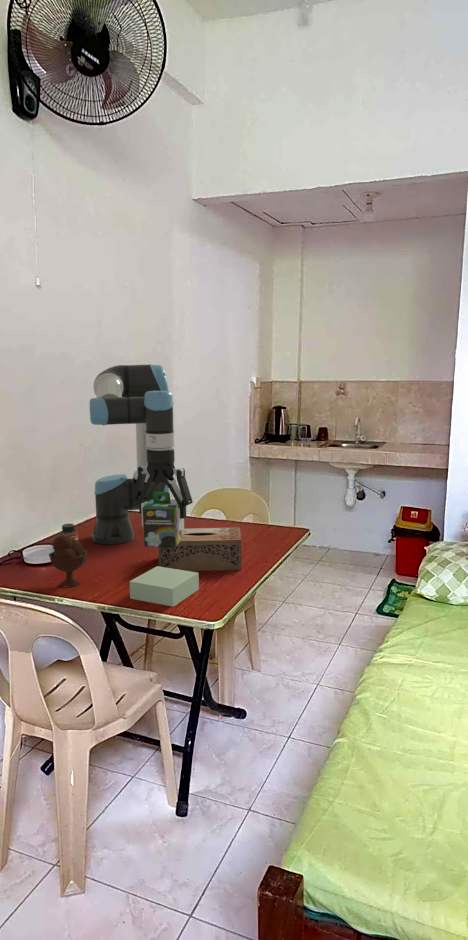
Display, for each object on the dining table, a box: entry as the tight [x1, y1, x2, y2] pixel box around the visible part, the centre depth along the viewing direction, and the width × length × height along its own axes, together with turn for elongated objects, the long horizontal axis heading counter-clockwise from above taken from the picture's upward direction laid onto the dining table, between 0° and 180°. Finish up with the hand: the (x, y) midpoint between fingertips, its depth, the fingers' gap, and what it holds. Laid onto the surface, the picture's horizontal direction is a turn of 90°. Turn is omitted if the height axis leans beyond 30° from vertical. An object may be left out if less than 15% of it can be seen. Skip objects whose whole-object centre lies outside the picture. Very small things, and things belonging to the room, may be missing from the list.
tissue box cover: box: [157, 527, 243, 572], centre depth 204 cm, size 26×14×10 cm, turn 91°
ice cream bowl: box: [48, 535, 88, 587], centre depth 186 cm, size 11×11×15 cm
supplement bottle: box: [59, 523, 79, 541], centre depth 211 cm, size 6×6×11 cm
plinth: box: [129, 565, 200, 607], centre depth 178 cm, size 14×14×5 cm
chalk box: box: [142, 491, 182, 548], centre depth 174 cm, size 9×9×15 cm
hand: (162, 527), depth 175 cm, fingers closed on chalk box, 11 cm apart
